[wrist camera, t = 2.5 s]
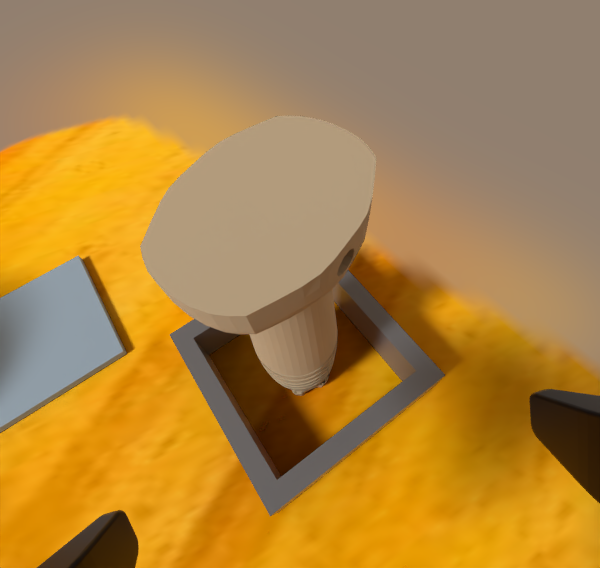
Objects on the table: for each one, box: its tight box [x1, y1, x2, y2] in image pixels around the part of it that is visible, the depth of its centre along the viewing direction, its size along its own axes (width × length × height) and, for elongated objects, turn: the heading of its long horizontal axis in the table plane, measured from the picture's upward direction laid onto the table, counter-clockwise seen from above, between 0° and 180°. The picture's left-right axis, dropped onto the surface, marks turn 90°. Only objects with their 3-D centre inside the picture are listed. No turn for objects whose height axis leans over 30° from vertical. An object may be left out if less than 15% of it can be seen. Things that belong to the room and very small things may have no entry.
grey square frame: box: [170, 270, 445, 516], centre depth 21 cm, size 10×10×3 cm
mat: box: [0, 256, 127, 433], centre depth 24 cm, size 9×9×1 cm
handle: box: [140, 116, 376, 396], centre depth 16 cm, size 5×6×15 cm
